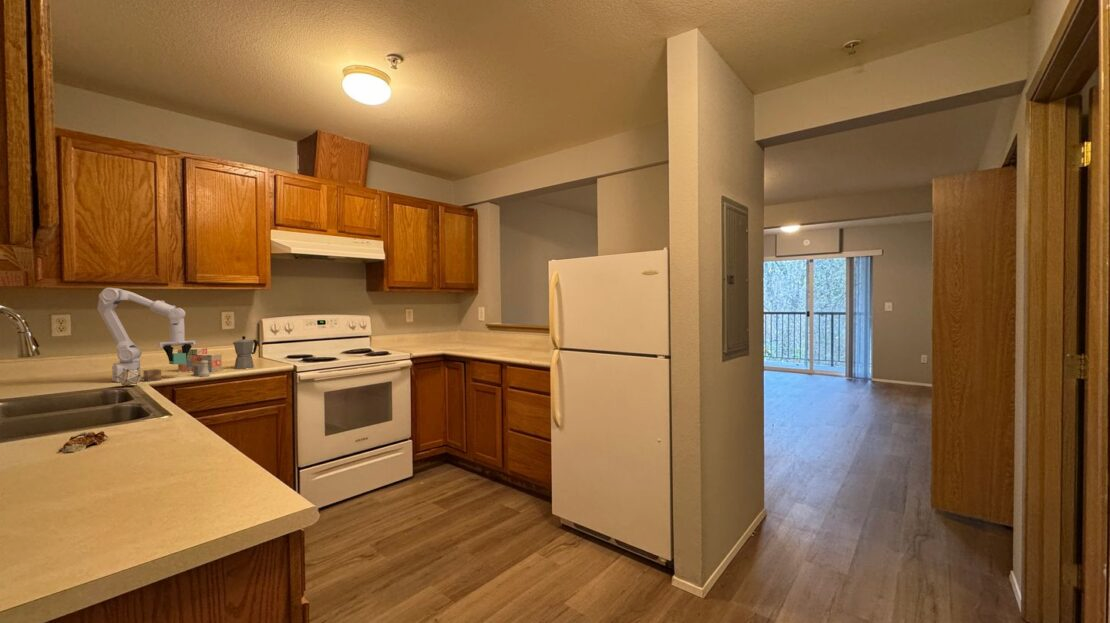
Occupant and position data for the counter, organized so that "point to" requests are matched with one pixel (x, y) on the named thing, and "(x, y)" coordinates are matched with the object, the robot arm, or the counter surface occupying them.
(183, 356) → the muted green block
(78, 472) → the counter surface
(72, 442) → the pastry
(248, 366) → the coffeepot
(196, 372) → the gray block
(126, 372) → the geometric wire lantern
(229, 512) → the counter surface
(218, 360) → the stack of blocks
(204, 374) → the rook chess piece
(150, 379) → the walnut block
